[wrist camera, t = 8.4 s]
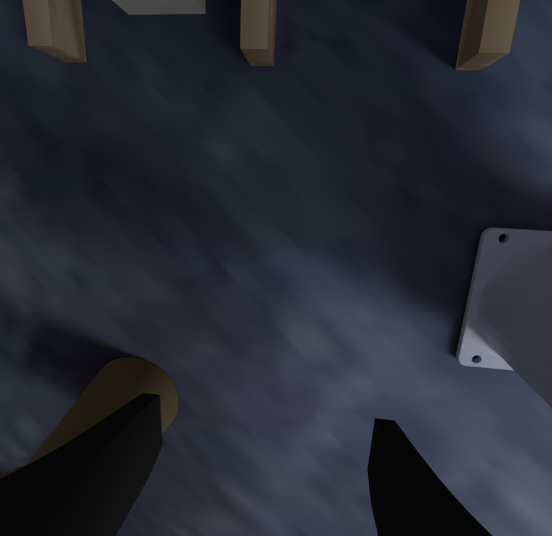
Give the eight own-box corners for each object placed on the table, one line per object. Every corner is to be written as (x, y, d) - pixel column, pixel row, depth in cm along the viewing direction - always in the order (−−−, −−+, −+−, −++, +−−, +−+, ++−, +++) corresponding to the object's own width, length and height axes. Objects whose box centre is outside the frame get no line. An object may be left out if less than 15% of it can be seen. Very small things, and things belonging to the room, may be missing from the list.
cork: (79, 370, 24) (-110, 528, 13) (155, 346, 23) (16, 499, 12) (118, 441, 25) (-26, 637, 14) (192, 422, 24) (95, 621, 13)
